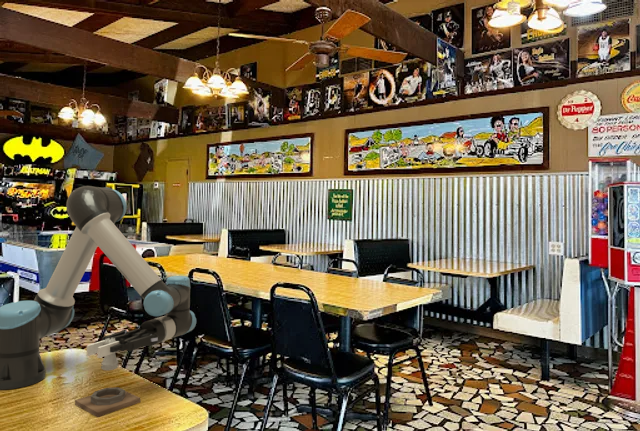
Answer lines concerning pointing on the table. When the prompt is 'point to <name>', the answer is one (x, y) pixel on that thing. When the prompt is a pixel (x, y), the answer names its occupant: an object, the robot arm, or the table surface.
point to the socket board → (106, 407)
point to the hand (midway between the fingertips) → (93, 351)
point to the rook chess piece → (109, 358)
